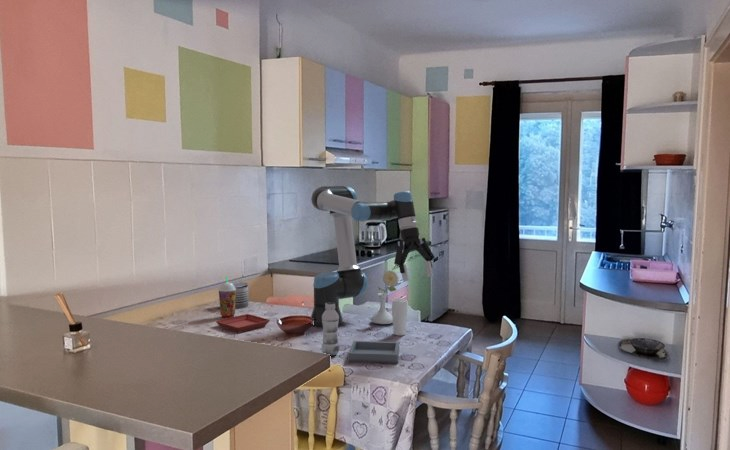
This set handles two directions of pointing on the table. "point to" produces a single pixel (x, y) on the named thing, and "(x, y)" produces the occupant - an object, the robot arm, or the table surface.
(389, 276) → the flower in vase
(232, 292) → the smoothie
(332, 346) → the silver metal bottle
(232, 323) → the plant saucer
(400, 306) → the drinking glass
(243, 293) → the can
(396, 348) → the tray
